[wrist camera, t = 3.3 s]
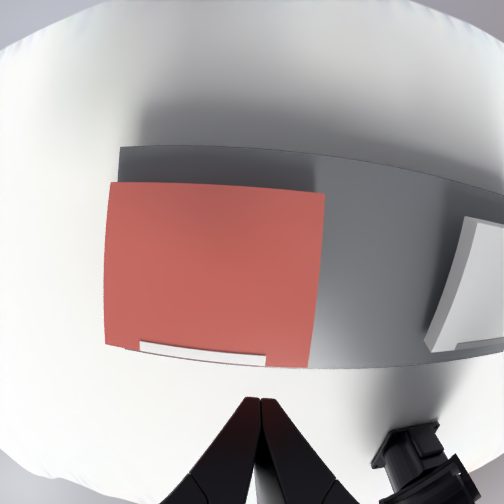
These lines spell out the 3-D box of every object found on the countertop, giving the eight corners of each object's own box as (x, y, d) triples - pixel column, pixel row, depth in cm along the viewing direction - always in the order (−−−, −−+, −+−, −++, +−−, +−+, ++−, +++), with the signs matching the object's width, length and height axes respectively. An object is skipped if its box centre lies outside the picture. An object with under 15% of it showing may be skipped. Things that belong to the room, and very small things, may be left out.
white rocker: (512, 331, 15) (520, 340, 14) (423, 340, 15) (431, 353, 14) (547, 236, 12) (558, 242, 11) (464, 216, 12) (478, 223, 11)
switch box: (478, 332, 20) (508, 355, 15) (145, 322, 20) (119, 355, 16) (505, 203, 17) (543, 209, 13) (146, 154, 18) (113, 145, 13)
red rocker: (303, 358, 14) (307, 368, 13) (115, 337, 14) (104, 344, 13) (319, 197, 14) (325, 193, 12) (121, 186, 14) (110, 181, 12)
